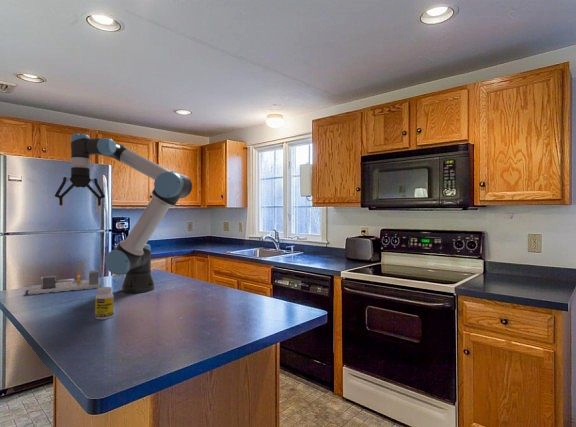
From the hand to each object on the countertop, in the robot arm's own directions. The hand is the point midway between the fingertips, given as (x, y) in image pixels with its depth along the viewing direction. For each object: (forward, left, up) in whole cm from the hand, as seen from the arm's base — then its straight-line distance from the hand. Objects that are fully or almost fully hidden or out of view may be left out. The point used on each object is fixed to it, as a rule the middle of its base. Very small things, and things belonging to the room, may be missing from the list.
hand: (80, 212), depth 166 cm
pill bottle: (-7, +44, -39) cm, 59 cm away
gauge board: (+6, -18, -39) cm, 43 cm away
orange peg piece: (0, -22, -36) cm, 43 cm away
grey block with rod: (+9, -19, -37) cm, 42 cm away
